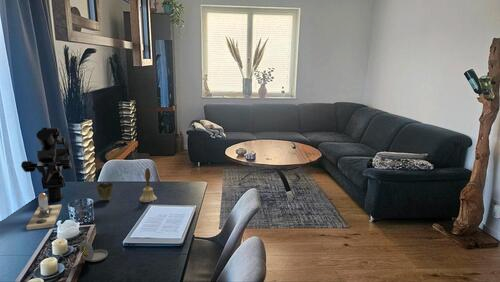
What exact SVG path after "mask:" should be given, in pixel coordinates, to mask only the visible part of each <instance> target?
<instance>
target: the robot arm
mask: <svg viewBox="0 0 500 282" xmlns="http://www.w3.org/2000/svg"><path fill="white" fill-rule="evenodd" d="M35 134H36V138H37V140H38V142H39V143H40V145H41V150H38V151H36V156H37V157H36V158H37V160H38V162H36V163H35V162H34V160H24V161H22V162H21V164H20V167H21V169H22V170H23V172H25V173H33V172H34V171H36V170H37V171H38V172H39V173H41V175H42V176H41V178H40V179H41V186H42V189H43V190H47V199H48V202H60V201H62V200H63V199H64V198H65V197H66V195H65V194H62V188H65V187H66V186H67V185H66V181H65V178H64V176H63V174H62V170H71V169H72V167H73V165H72V161H71V160H70V157H71V155H72V151H71V146H70V144H69V143H68V142H67V141H66V138H65V136H63V135H62V132H61V130H60V129H59V128H58V127H42V128H41V129H40V130H38V131H37V132H36V133H35ZM57 145H63V146H64V147H57Z"/></svg>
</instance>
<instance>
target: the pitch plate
mask: <svg viewBox="0 0 500 282" xmlns="http://www.w3.org/2000/svg"><path fill="white" fill-rule="evenodd" d="M62 206H63V205H62V204H51V205H48V209H49V211H50V210H51V214H50V216H49V217H40V218H38V214H39V213H40V210H39V206H38V207H37V209H36V210H35V212H34V213H33V215H32V217H31V218H30V220H29V221H28V223H27V225H26V231H29V230H30V231H31V230H38V229H45V228H53V227H54V226H55V223H56V221H57V219H58V217H59V215H60V212H61V210H62Z"/></svg>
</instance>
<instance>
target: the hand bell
mask: <svg viewBox="0 0 500 282" xmlns="http://www.w3.org/2000/svg"><path fill="white" fill-rule="evenodd" d="M144 179H145V182H146V183H145V187H144V188H143V190H142V195H141V196H140V197H139V198H138V199H139V201H140V202H141V203H151V201H152V202H155V201H157V198H158V197H157V196H156V195H155V194H154V190H153V187H151V186H150V185H151V184H150V183H151V182H150V179H151V171H150V168H149V167H147V168H146V169H145V172H144ZM154 200H155V201H154Z"/></svg>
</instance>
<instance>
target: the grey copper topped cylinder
mask: <svg viewBox="0 0 500 282" xmlns="http://www.w3.org/2000/svg"><path fill="white" fill-rule="evenodd" d="M37 201H38V207H39V210H40V213H39V214H38V218H40V217H49V216H50V214H51V210H50V211H49V209H48V206H49V201H48V194H47V193H45V192H41V193H40V194H38V200H37Z"/></svg>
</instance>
